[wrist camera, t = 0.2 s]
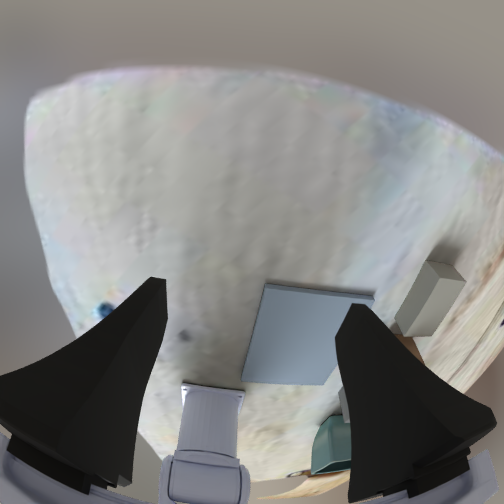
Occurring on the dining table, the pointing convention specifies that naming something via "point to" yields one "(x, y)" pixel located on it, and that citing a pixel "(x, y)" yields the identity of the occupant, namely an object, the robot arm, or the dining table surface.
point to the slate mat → (297, 335)
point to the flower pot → (332, 447)
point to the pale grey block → (429, 299)
